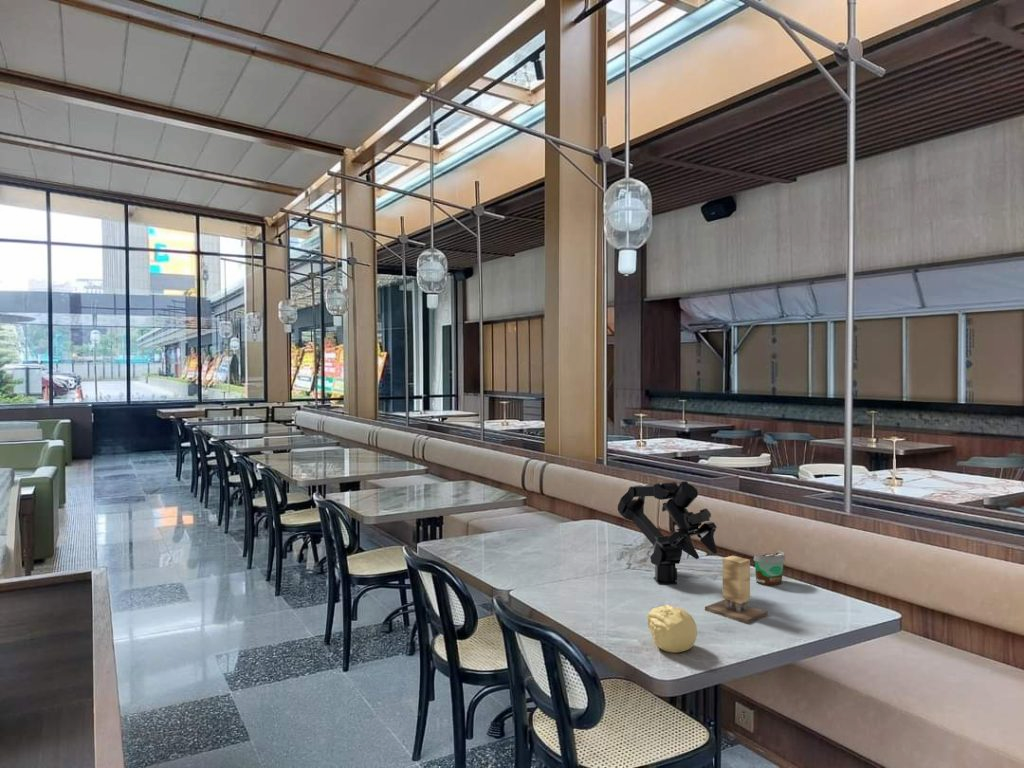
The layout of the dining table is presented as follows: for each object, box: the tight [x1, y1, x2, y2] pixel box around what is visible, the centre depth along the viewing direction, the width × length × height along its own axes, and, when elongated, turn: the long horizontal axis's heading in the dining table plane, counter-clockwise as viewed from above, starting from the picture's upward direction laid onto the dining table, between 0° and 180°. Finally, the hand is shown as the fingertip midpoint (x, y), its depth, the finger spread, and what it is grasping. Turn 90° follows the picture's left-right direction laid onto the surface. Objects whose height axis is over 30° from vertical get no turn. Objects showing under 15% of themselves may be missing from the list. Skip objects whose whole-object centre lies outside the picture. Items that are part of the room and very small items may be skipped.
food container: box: [753, 550, 786, 587], centre depth 224 cm, size 12×6×10 cm, turn 117°
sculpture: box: [646, 604, 698, 654], centre depth 172 cm, size 12×12×11 cm
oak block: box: [721, 555, 751, 604], centre depth 197 cm, size 6×5×12 cm
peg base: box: [704, 599, 769, 625], centre depth 197 cm, size 14×11×4 cm
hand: (707, 556), depth 211 cm, fingers open, 9 cm apart
